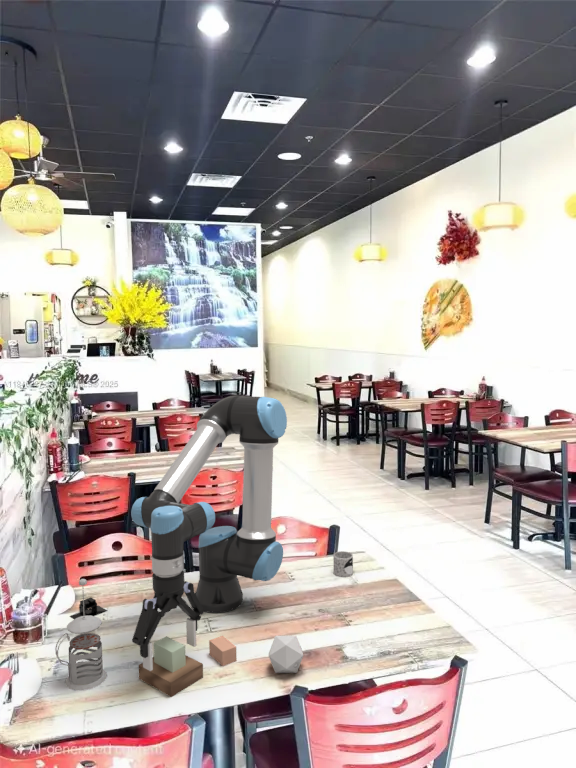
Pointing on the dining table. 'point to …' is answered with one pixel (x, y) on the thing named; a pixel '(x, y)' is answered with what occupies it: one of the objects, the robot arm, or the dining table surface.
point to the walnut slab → (172, 676)
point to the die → (285, 654)
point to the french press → (87, 671)
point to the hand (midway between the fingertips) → (170, 656)
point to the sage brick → (169, 654)
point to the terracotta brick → (222, 650)
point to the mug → (343, 564)
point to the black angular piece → (88, 608)
